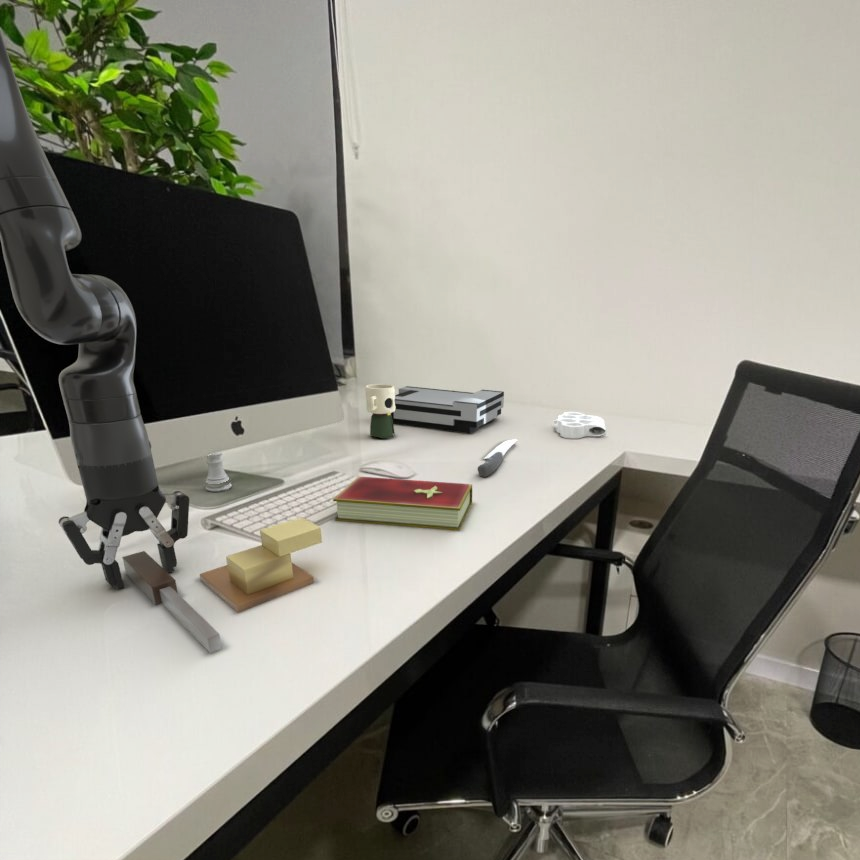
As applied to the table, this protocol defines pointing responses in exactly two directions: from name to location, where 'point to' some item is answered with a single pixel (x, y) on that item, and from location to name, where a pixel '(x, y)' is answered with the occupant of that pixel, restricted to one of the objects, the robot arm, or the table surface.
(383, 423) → the character mug
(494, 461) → the kitchen knife
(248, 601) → the butter board
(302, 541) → the butter pat
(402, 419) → the game console
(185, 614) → the butter knife
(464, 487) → the hardcover book
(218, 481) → the rook chess piece
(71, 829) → the table surface
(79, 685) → the table surface
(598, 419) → the white dimpled palette
